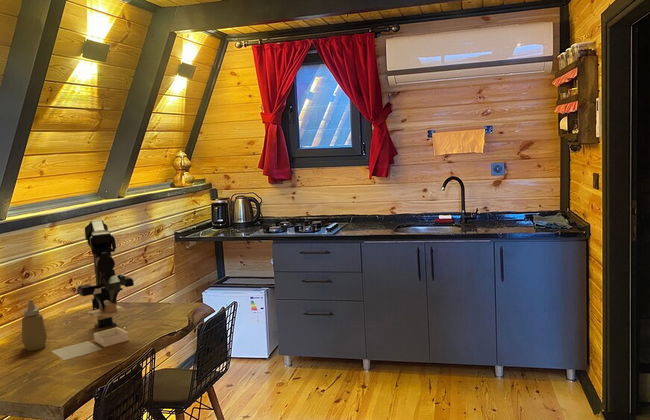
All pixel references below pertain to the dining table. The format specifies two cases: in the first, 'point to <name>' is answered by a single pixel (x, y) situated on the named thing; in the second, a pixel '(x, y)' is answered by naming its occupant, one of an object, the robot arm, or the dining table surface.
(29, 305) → the squeeze bottle
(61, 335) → the dining table surface
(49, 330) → the dining table surface
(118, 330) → the dish
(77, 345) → the mat
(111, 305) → the lid
